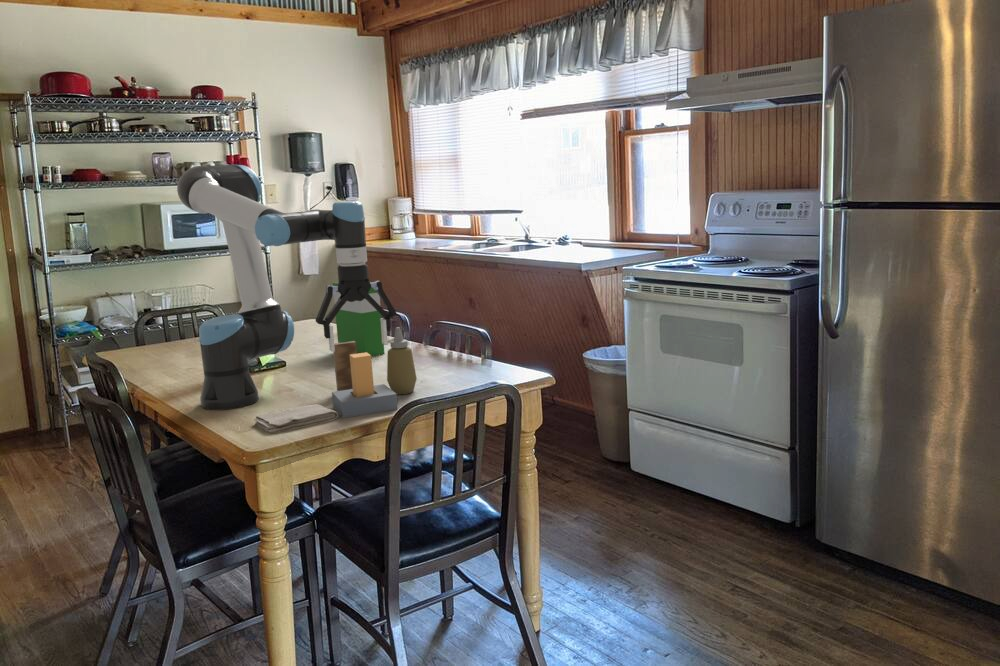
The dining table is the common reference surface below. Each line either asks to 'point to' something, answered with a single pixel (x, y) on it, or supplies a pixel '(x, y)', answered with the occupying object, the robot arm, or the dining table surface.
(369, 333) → the green cereal box
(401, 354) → the squeeze bottle
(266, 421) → the washcloth
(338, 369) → the brown wooden block
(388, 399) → the socket block
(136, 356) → the dining table surface
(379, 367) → the dining table surface
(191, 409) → the dining table surface
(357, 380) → the square peg
